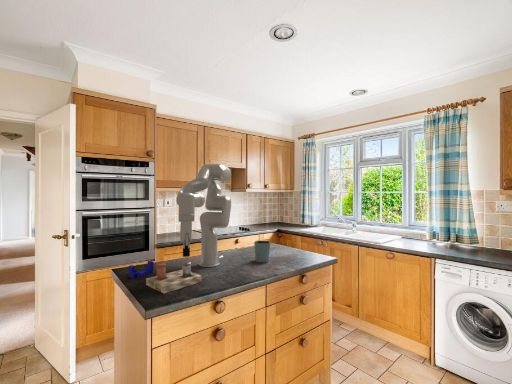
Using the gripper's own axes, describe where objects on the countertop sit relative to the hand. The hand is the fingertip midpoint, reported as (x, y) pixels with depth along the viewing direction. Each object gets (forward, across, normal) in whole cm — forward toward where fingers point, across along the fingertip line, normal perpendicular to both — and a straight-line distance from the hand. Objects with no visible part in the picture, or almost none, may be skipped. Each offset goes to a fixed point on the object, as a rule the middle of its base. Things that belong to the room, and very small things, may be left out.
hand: (186, 256), depth 131 cm
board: (+13, -1, -5) cm, 14 cm away
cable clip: (+13, -19, -21) cm, 31 cm away
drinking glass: (+12, -27, +49) cm, 57 cm away
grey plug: (+10, -1, 0) cm, 10 cm away
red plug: (+10, -1, -11) cm, 15 cm away
